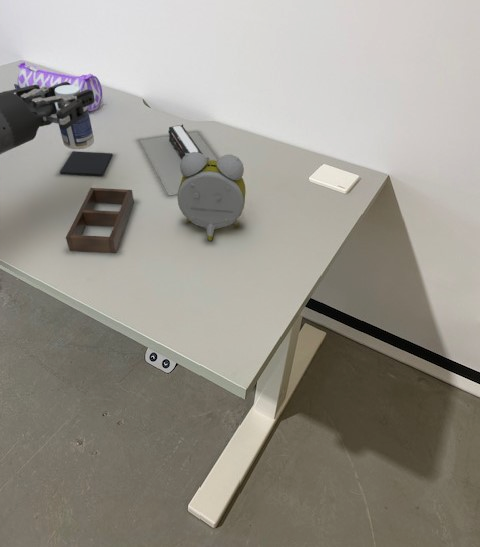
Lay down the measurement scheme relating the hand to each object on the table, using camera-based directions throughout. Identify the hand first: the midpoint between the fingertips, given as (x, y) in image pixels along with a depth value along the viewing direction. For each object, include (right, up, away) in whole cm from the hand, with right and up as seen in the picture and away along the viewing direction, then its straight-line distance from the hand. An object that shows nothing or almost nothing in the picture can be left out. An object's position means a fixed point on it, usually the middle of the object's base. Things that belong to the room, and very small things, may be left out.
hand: (80, 91), depth 73 cm
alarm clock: (+22, -24, +6) cm, 33 cm away
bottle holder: (+2, -23, +5) cm, 23 cm away
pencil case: (-20, +15, +42) cm, 49 cm away
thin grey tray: (+15, -6, +23) cm, 28 cm away
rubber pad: (-6, -7, +20) cm, 22 cm away
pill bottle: (-2, -8, +4) cm, 9 cm away
